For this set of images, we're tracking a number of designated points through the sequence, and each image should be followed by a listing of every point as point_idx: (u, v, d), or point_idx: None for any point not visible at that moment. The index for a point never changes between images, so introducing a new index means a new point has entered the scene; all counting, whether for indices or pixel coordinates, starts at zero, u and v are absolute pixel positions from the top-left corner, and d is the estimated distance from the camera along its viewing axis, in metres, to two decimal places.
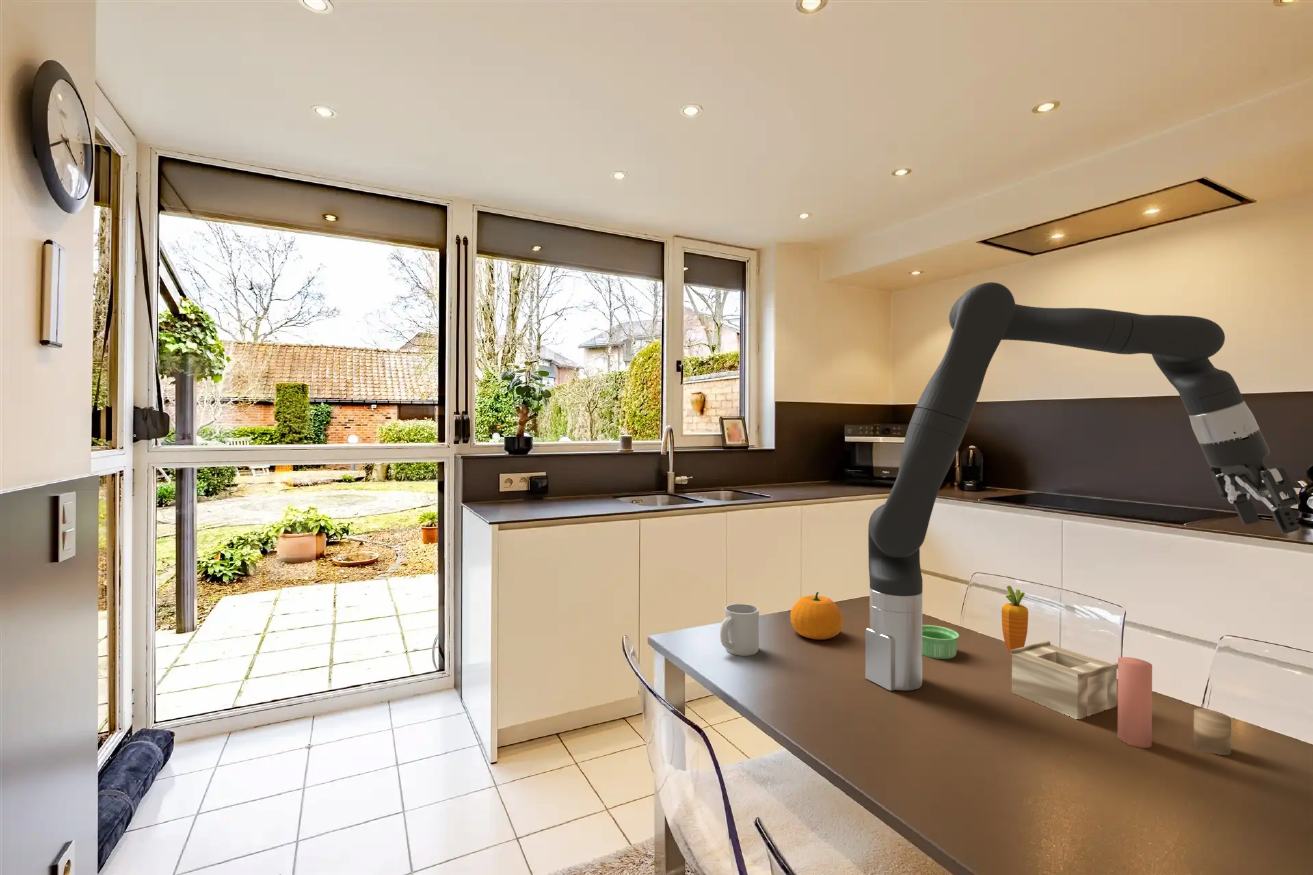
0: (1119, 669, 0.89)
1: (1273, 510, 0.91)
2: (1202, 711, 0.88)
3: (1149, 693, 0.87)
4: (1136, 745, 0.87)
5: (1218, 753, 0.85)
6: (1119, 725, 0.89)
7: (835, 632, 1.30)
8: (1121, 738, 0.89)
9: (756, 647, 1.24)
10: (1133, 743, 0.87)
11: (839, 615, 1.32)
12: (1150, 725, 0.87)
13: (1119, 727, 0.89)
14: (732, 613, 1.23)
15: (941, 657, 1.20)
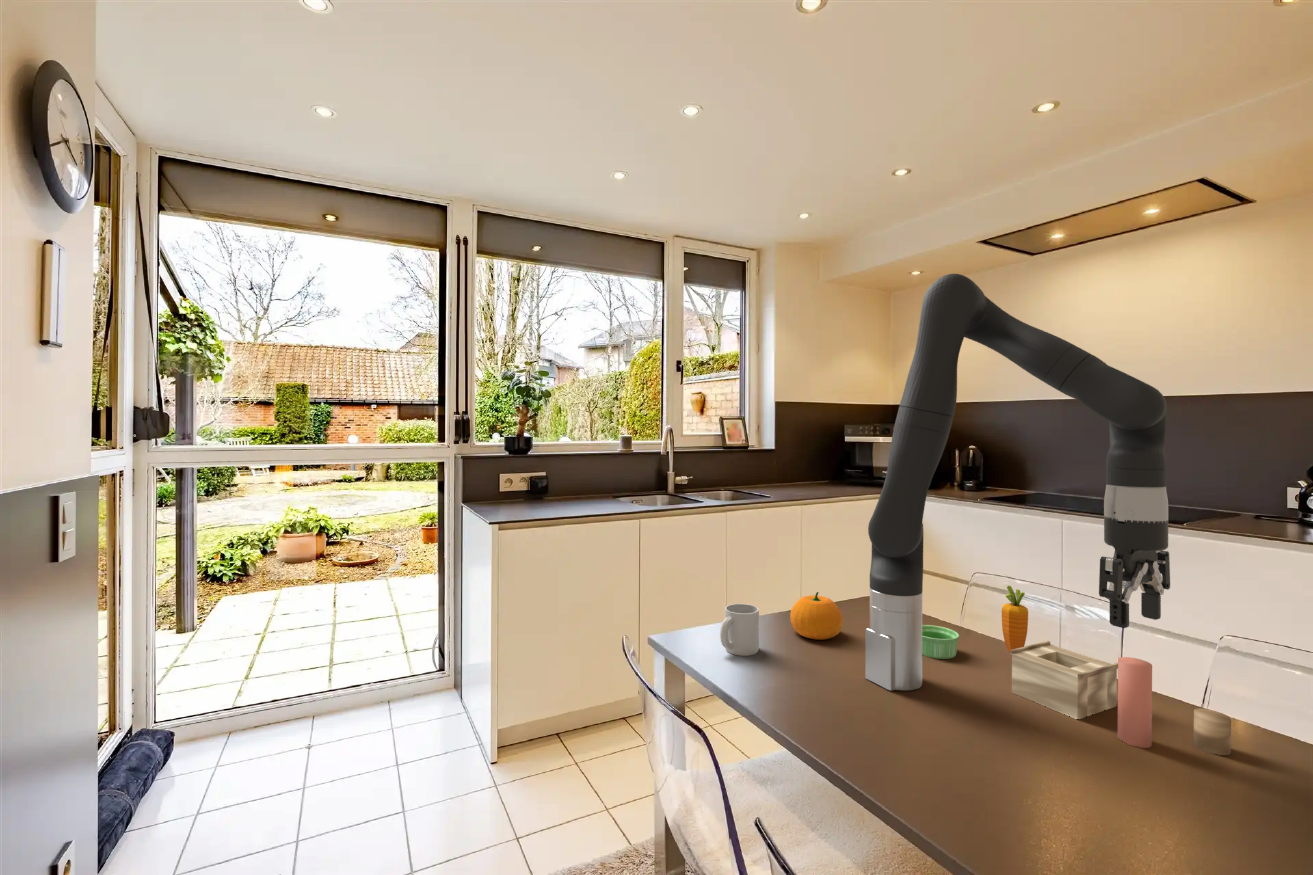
0: (1119, 669, 0.89)
1: None
2: (1202, 711, 0.88)
3: (1149, 693, 0.87)
4: (1136, 745, 0.87)
5: (1218, 753, 0.85)
6: (1119, 725, 0.89)
7: (835, 632, 1.30)
8: (1121, 738, 0.89)
9: (756, 647, 1.24)
10: (1133, 743, 0.87)
11: (839, 615, 1.32)
12: (1150, 725, 0.87)
13: (1119, 727, 0.89)
14: (732, 613, 1.23)
15: (941, 657, 1.20)
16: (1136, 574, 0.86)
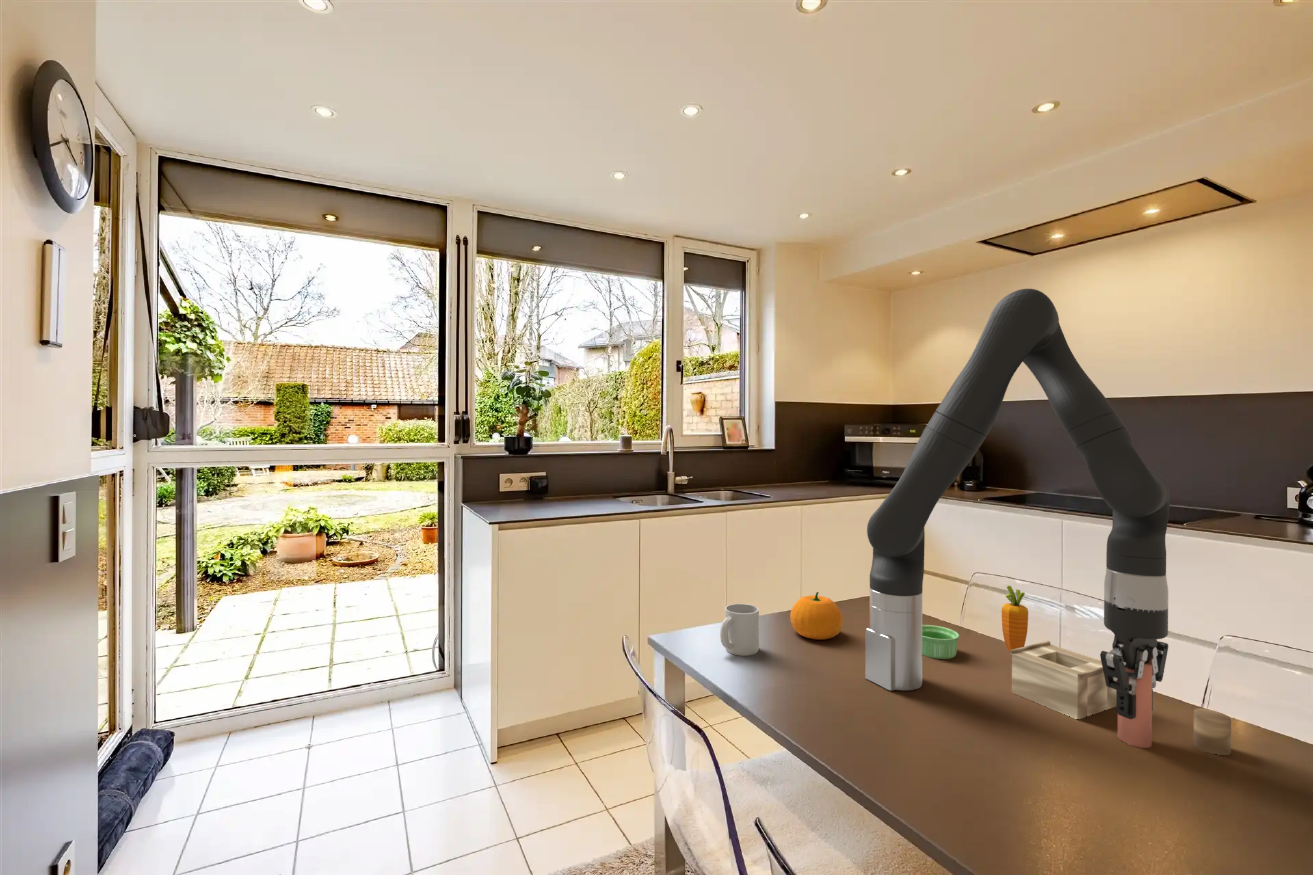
0: None
1: None
2: (1202, 711, 0.88)
3: (1149, 693, 0.87)
4: (1136, 745, 0.87)
5: (1218, 753, 0.85)
6: (1119, 725, 0.89)
7: (835, 632, 1.30)
8: (1121, 738, 0.89)
9: (756, 647, 1.24)
10: (1133, 743, 0.87)
11: (839, 615, 1.32)
12: (1150, 725, 0.87)
13: (1119, 727, 0.89)
14: (732, 613, 1.23)
15: (941, 657, 1.20)
16: (1137, 664, 0.86)
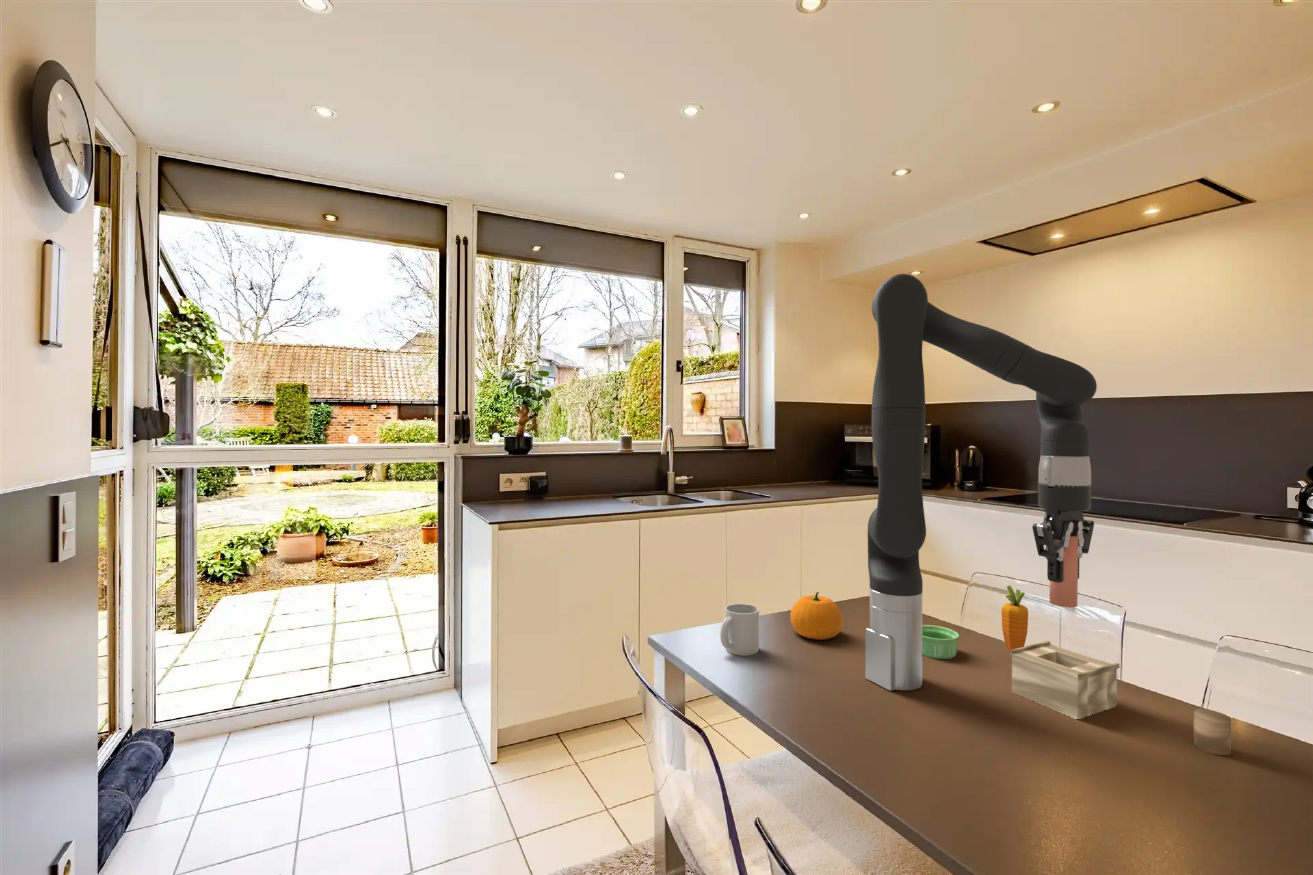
0: None
1: (1046, 557, 1.02)
2: (1202, 711, 0.88)
3: (1075, 560, 1.00)
4: (1063, 605, 1.00)
5: (1218, 753, 0.85)
6: (1050, 591, 1.02)
7: (835, 632, 1.30)
8: (1052, 601, 1.02)
9: (756, 647, 1.24)
10: (1061, 604, 1.01)
11: (839, 615, 1.32)
12: (1076, 588, 1.00)
13: (1050, 592, 1.02)
14: (732, 613, 1.23)
15: (941, 657, 1.20)
16: (1064, 534, 1.00)
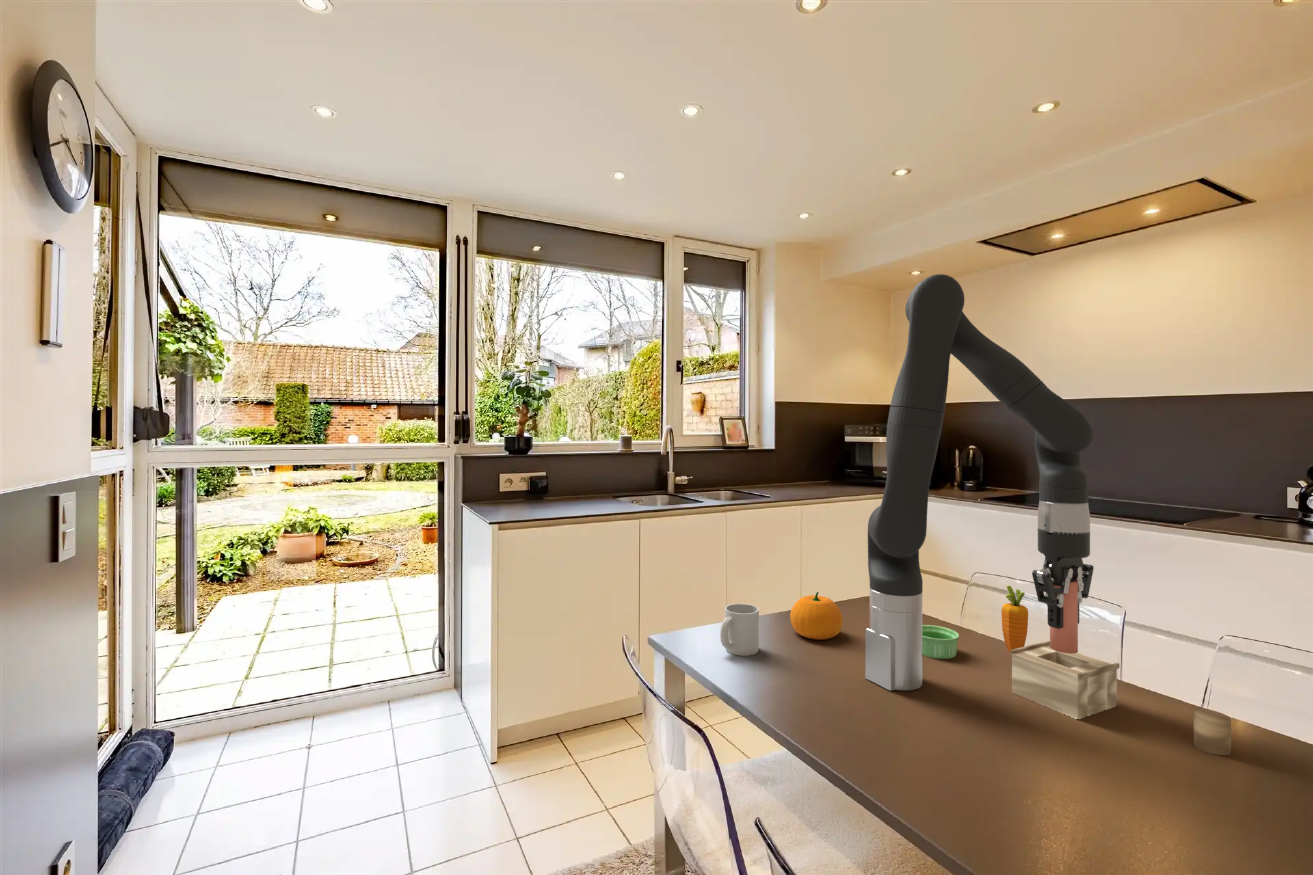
0: None
1: None
2: (1202, 711, 0.88)
3: (1075, 606, 1.00)
4: (1064, 651, 1.01)
5: (1218, 753, 0.85)
6: (1051, 636, 1.03)
7: (835, 632, 1.30)
8: (1052, 647, 1.02)
9: (756, 647, 1.24)
10: (1061, 650, 1.01)
11: (839, 615, 1.32)
12: (1076, 634, 1.00)
13: (1051, 638, 1.03)
14: (732, 613, 1.23)
15: (941, 657, 1.20)
16: (1064, 581, 1.00)
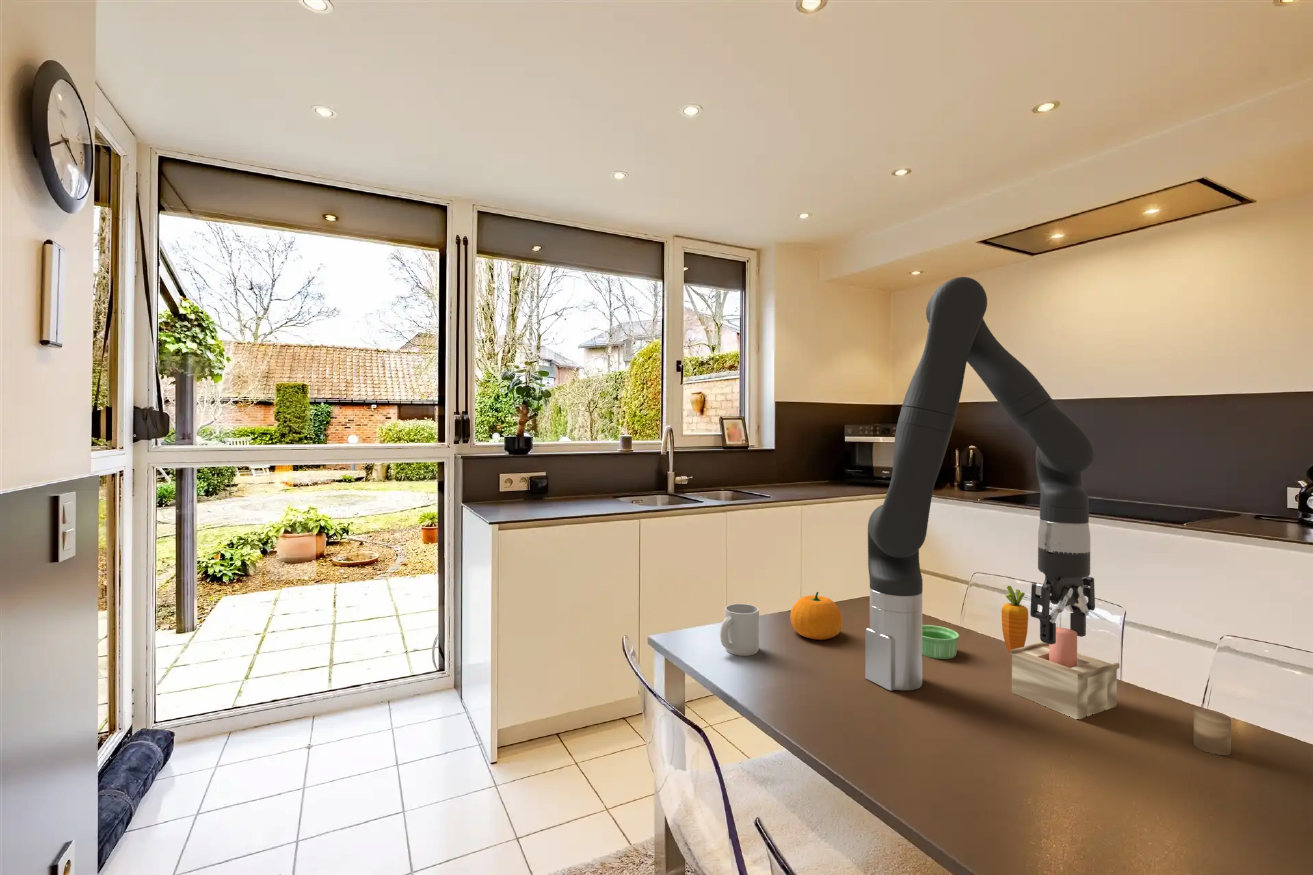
0: None
1: None
2: (1202, 711, 0.88)
3: (1074, 657, 1.00)
4: None
5: (1218, 753, 0.85)
6: None
7: (835, 632, 1.30)
8: None
9: (756, 647, 1.24)
10: None
11: (839, 615, 1.32)
12: None
13: None
14: (732, 613, 1.23)
15: (941, 657, 1.20)
16: (1062, 598, 1.00)
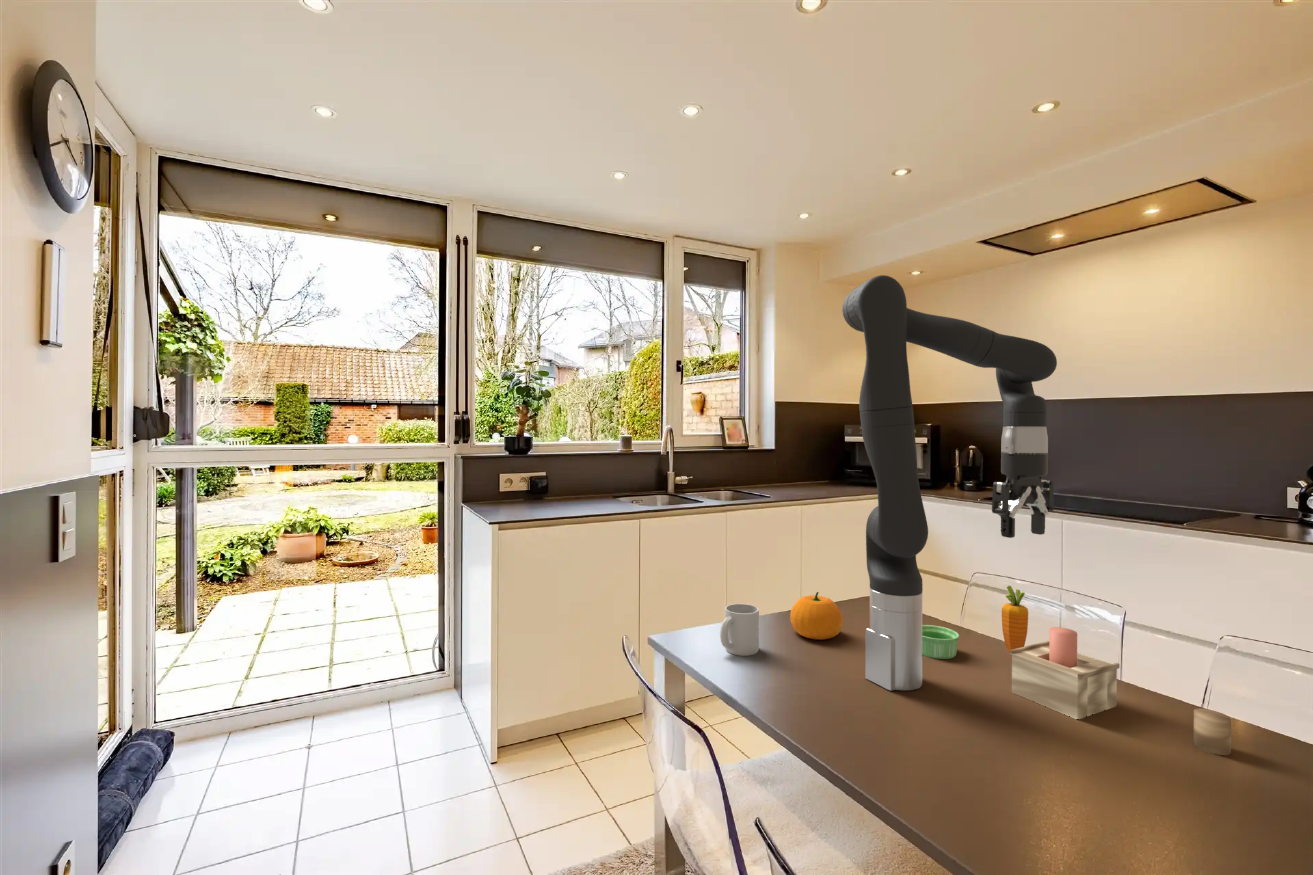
0: (1050, 637, 1.03)
1: None
2: (1202, 711, 0.88)
3: (1074, 657, 1.00)
4: None
5: (1218, 753, 0.85)
6: None
7: (835, 632, 1.30)
8: None
9: (756, 647, 1.24)
10: None
11: (839, 615, 1.32)
12: None
13: None
14: (732, 613, 1.23)
15: (941, 657, 1.20)
16: (1021, 495, 1.09)
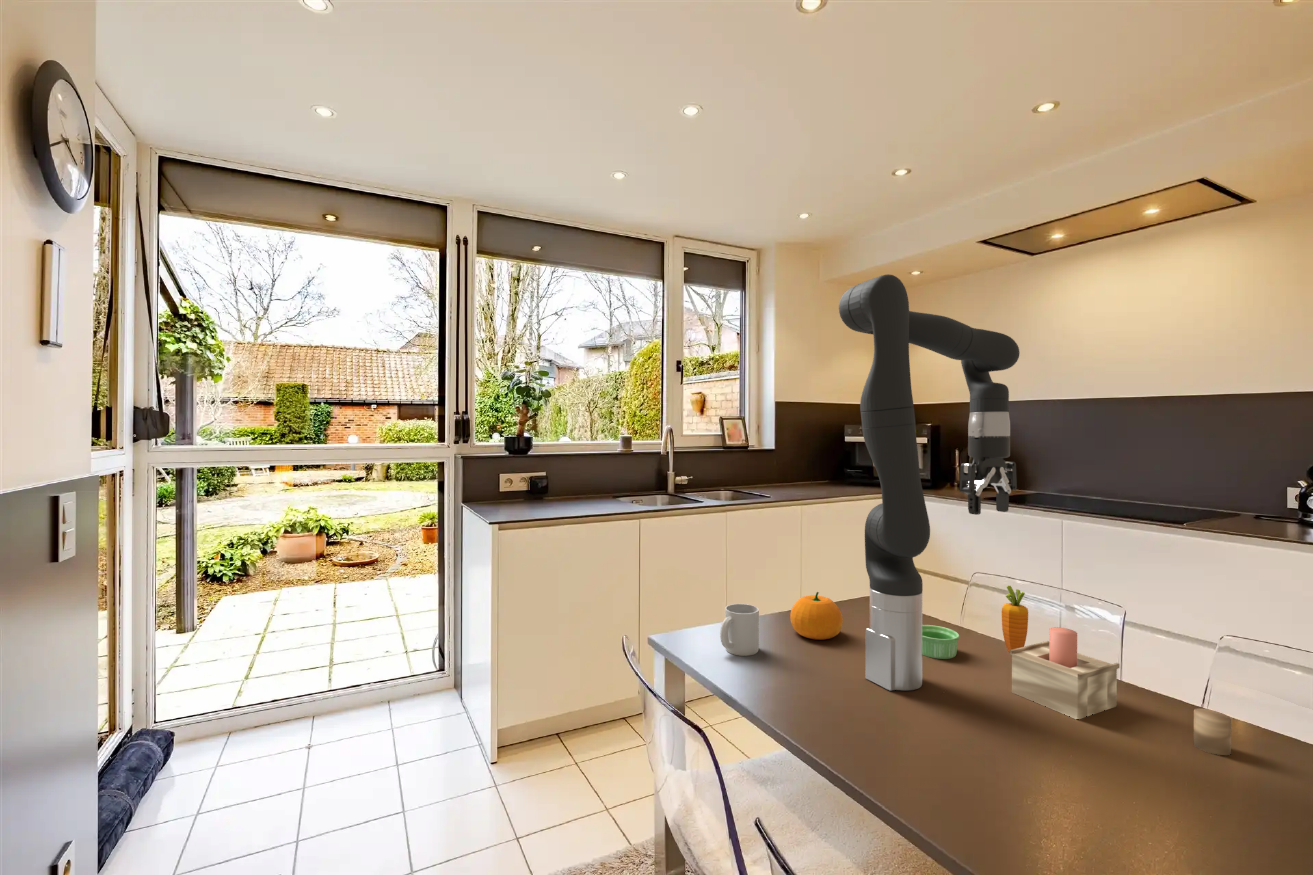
0: (1050, 637, 1.03)
1: None
2: (1202, 711, 0.88)
3: (1074, 657, 1.00)
4: None
5: (1218, 753, 0.85)
6: None
7: (835, 632, 1.30)
8: None
9: (756, 647, 1.24)
10: None
11: (839, 615, 1.32)
12: None
13: None
14: (732, 613, 1.23)
15: (941, 657, 1.20)
16: (986, 475, 1.18)
